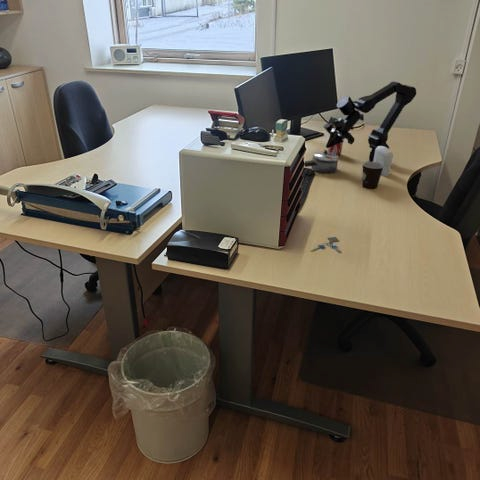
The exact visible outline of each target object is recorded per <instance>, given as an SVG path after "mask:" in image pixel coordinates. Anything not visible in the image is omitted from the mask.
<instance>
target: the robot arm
mask: <svg viewBox="0 0 480 480" xmlns="http://www.w3.org/2000/svg"><path fill="white" fill-rule="evenodd" d="M394 93H396V94H395V101H394V103H393V105H392V106H391V107H390V109H389V111H388V113H387V115H386V116H385V118H384V119H383V121H382V122H381V124H380V125H379V127H378V128H377V129H372V130H371V132H370V133H369V135H368V138H367V142H368V146H369V149H371V151H370V152H369V157H368V162H373V160H374V155H375V150H376V148H377V147H378V146H384V147H387V148H388V149H389V150H390V146H389V145H388V144H387V141H388V139H389V138H388V137H389V132H390V130H391V129H392V127H393V125H394V124H395V122H396V121H397V119H398V117H399V115H400V114H401V113H402V111H403V109H404V108H405V107H406V106H407V105H408V104H410V103H411V102H412V101H413V100H414V98H415V97H416V96H417V89H416V87H415V86H411V85H409V84H402V83H401V82H397V81H394V80H393V81H391V82H389V83H388V84H387V85H385V86H383V87H382V88H380V89H378V90H377V91H375V92H373V93H372V94H369V95H364V96H361V97H359V98H357V99H356V100H354V101H353V100H352V97H350V96H349V95H346V96H345V97H343V98H341V99H339V101H338V102H337V103H336V107H337V108H338V110H339V111H340V112H341V113H342V115H343V116H345V117H344V118H342V117H339V118H336V117H333V116H330V118H329V120H328V122H327V123H325V125H323V128H324V129H325V131H326V132H327V133H328V135H329V136H328V137H329V138H328V141H327V142H326V145H325V147H326V148H327V149H328V148H329V147H332V146H334V145H336V144H339V143H341V142H343V143H344V142H345V141H344V140H345V139H346V140H347V143H348V144H350V145H353V144H354V143H355V137H354V136H353V135H352V133H351V132H349V131H353V130H354V126H355V125H356V124H357V123H358V122H359V121H362V122H363V121H364V119H365V118H364V116H365V115H364V114H368V113H370V112H371V111H373V109H374V108H375V107H376V105H377V104H378V103H380V102H381V101H383V100H385V99H387V98H388V97H390V96H391V95H393V94H394ZM361 112H362V113H361ZM363 113H364V114H363ZM337 132H338V133H337Z"/></svg>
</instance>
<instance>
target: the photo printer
mask: <svg viewBox="0 0 480 480" xmlns="http://www.w3.org/2000/svg"><path fill="white" fill-rule="evenodd" d="M393 158H394V154H393V152H392V151H391V149H390V148H389V149H388V148H387V147H384V146H378V147H377V148H376V150H375V155H374V160H373V162H377V163H380V164H382V165H383V170H382V173H381V176H383V177H387V176H389V175H390V172H391V168H392V163H393Z"/></svg>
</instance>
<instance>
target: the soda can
mask: <svg viewBox="0 0 480 480" xmlns="http://www.w3.org/2000/svg"><path fill="white" fill-rule="evenodd" d="M337 133H338V132H337ZM343 144H344V142H341V143H339V144H336V145H334V146H332V147H329V148H327V151H328V153H332V154H335V155H337V156H338V157H339V156H340V155H342V150H343Z"/></svg>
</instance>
